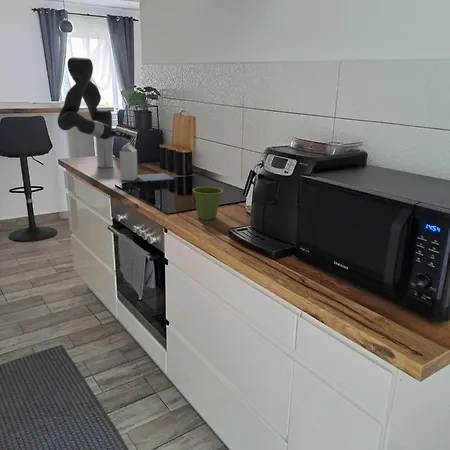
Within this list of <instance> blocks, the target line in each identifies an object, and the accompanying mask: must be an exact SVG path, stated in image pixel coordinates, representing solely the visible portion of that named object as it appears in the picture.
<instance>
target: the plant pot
mask: <svg viewBox="0 0 450 450" xmlns="http://www.w3.org/2000/svg"><path fill="white" fill-rule="evenodd" d="M192 192H193V194H194V198H195V205H196V212H197V213H196V214H197V218H198V219H200V220H203V221H211V220H215V219H217V214H218V209H219V206H220V205H219V204H220V201H221V197H222V193H223V192H224V190H223V189H222V188H220V187H215V186H214V187H213V186H198V187H194V188H192Z"/></svg>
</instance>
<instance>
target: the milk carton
mask: <svg viewBox="0 0 450 450" xmlns="http://www.w3.org/2000/svg"><path fill="white" fill-rule="evenodd" d="M119 165H120V166H119V167H120V169H119V170H120V172H119V173H120V180H121V181H131V182H132V181H133V182H135V180H137V179H138V175H139V174H138V149H136V148H135V147H134V146H133V145H131V142H128V143H126V144H125V145H123V146H122V147H121V150H120V151H119Z"/></svg>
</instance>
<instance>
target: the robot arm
mask: <svg viewBox="0 0 450 450" xmlns="http://www.w3.org/2000/svg"><path fill="white" fill-rule="evenodd" d="M67 71H68V73H69V75H70V76H71V78H72V80H73V81H74V82H75V84H74V85H72V86H71V87H70V89H69V90H68V91H67V93H66V95H65V99H64V103H63V107H62V108H61V111H60V112H59V115H58V116H57V126H58V127H59V129H60V130H62V131H70V130H71V129H73V128H75V127H76V128H77V131H78V132H80V133H82V134H86V135H89V136H92V137H94V138H95V145H96V146H95V147H96V163H97V164H96V165H97V168H101V169H102V168H104V169H106V168H107V169H108V168H113V167H114V152H113V149H114V147H113V139H117V140H122V139H126V140H129V141H131V140H132V135H131V134H127V132H124V131H121V130H116V129H113V121H112V120H113V115H112V111H111V110H110V109H103V108H102V109H99V108H98V106H99V104H100V102H101V100H102V96H101V93H100V91H99V88H98V86H97V85H96V84H95V83H93V82H92V81H91V78H92V76H93V73H94V72H93V71H94V65H93V62H92V59H90V58H88V57H79V56H78V57H77V56H72V57H70V58H69V59H67ZM82 100H83V101H84V103H85V105H86V107H87V109H88V112H89V114H90V115H89V117H90V118H91V119H89V118H87V117H86V118H85V117H84V116H83V115H81V114H79V113H78V112H79V110H80V108H81V104H82Z"/></svg>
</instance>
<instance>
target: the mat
mask: <svg viewBox="0 0 450 450" xmlns="http://www.w3.org/2000/svg"><path fill="white" fill-rule="evenodd" d="M137 179H139V180H141V182H143V183H149V182H148V181H150V182H159V181H161V182H162V181H172V180H174V181H175V178H174V177H172V176H171V175H169V174H166V173H165V172H159V173H148V174H138V178H137Z"/></svg>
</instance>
